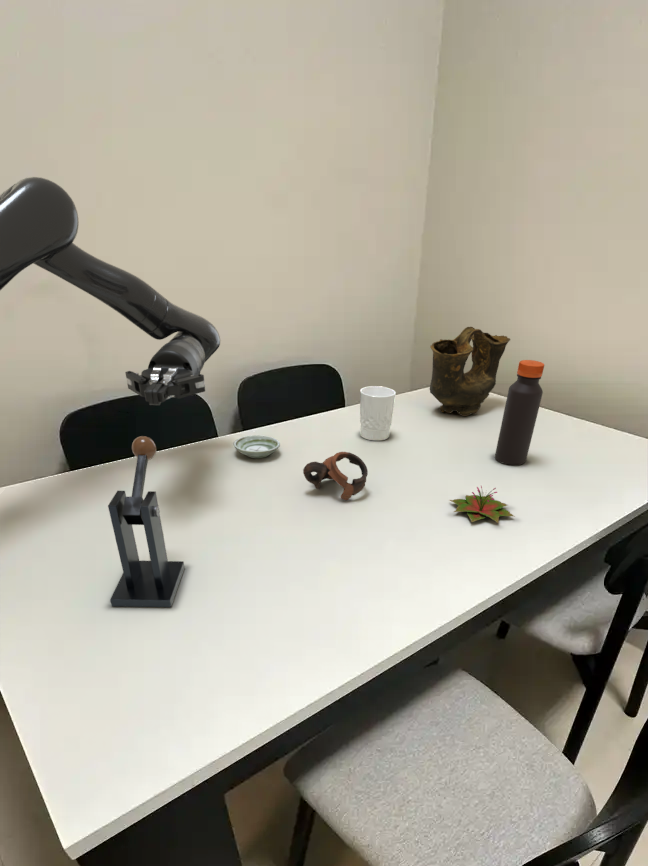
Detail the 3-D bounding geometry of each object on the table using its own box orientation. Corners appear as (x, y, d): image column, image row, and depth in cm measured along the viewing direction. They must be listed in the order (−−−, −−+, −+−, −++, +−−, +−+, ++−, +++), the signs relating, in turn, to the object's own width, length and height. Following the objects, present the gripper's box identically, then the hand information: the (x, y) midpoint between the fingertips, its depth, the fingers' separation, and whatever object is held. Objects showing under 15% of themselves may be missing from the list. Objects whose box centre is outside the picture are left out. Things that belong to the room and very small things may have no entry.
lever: (137, 446, 82) (130, 430, 79) (160, 446, 82) (154, 431, 79) (124, 526, 77) (117, 513, 74) (149, 526, 77) (142, 513, 74)
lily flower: (437, 500, 110) (440, 477, 107) (492, 493, 113) (497, 471, 110) (467, 530, 101) (472, 507, 98) (526, 522, 104) (532, 499, 101)
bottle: (517, 468, 124) (541, 369, 111) (489, 459, 127) (508, 362, 114) (530, 459, 128) (554, 363, 116) (502, 451, 131) (523, 356, 119)
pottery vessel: (474, 396, 163) (488, 318, 150) (505, 407, 156) (522, 326, 144) (412, 413, 149) (422, 328, 137) (444, 425, 143) (457, 337, 131)
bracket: (130, 567, 87) (111, 480, 79) (184, 568, 88) (171, 482, 79) (111, 606, 79) (88, 515, 71) (171, 607, 80) (155, 517, 71)
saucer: (282, 446, 127) (282, 435, 126) (277, 464, 120) (277, 452, 118) (238, 444, 127) (237, 433, 126) (230, 461, 119) (229, 450, 118)
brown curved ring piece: (347, 477, 117) (365, 449, 111) (357, 516, 113) (377, 489, 107) (292, 469, 111) (308, 439, 105) (300, 509, 107) (317, 481, 101)
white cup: (389, 429, 138) (393, 386, 132) (393, 442, 132) (397, 397, 126) (356, 429, 138) (359, 385, 132) (359, 441, 132) (361, 396, 126)
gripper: (133, 342, 97) (102, 369, 84) (213, 345, 98) (195, 373, 84) (141, 388, 102) (112, 421, 88) (217, 391, 103) (200, 425, 89)
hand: (153, 398), depth 86 cm, fingers closed
